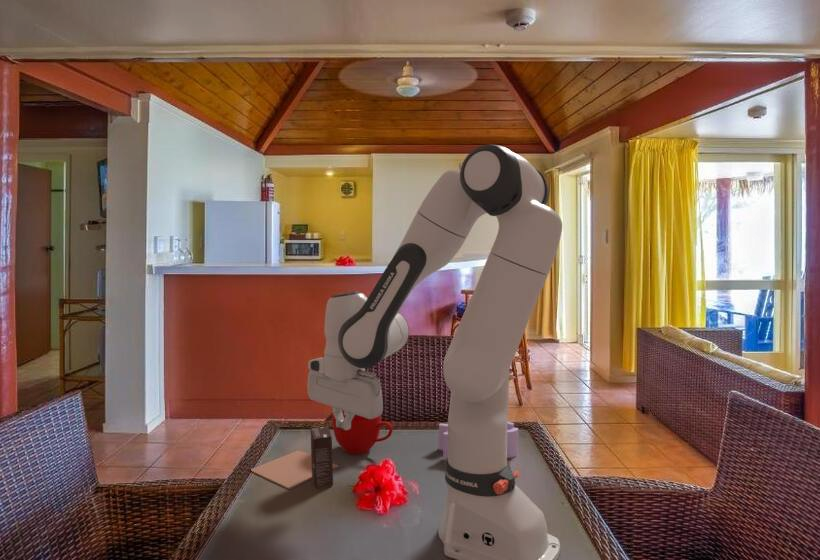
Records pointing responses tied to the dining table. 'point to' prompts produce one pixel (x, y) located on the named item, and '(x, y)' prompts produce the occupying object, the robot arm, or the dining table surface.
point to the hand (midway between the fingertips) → (343, 428)
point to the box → (321, 457)
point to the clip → (511, 440)
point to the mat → (288, 469)
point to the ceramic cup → (360, 434)
